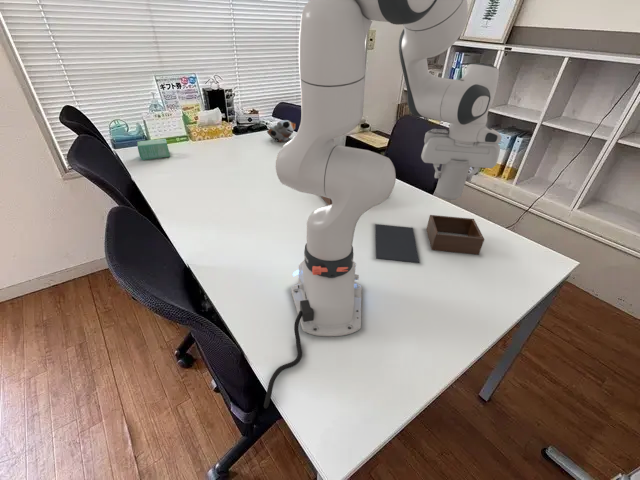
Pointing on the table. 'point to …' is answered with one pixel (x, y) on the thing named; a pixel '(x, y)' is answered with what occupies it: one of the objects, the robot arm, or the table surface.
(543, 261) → the table surface
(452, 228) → the crate
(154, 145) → the box
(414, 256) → the mat
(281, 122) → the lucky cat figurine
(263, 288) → the table surface
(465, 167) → the can
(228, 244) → the table surface
